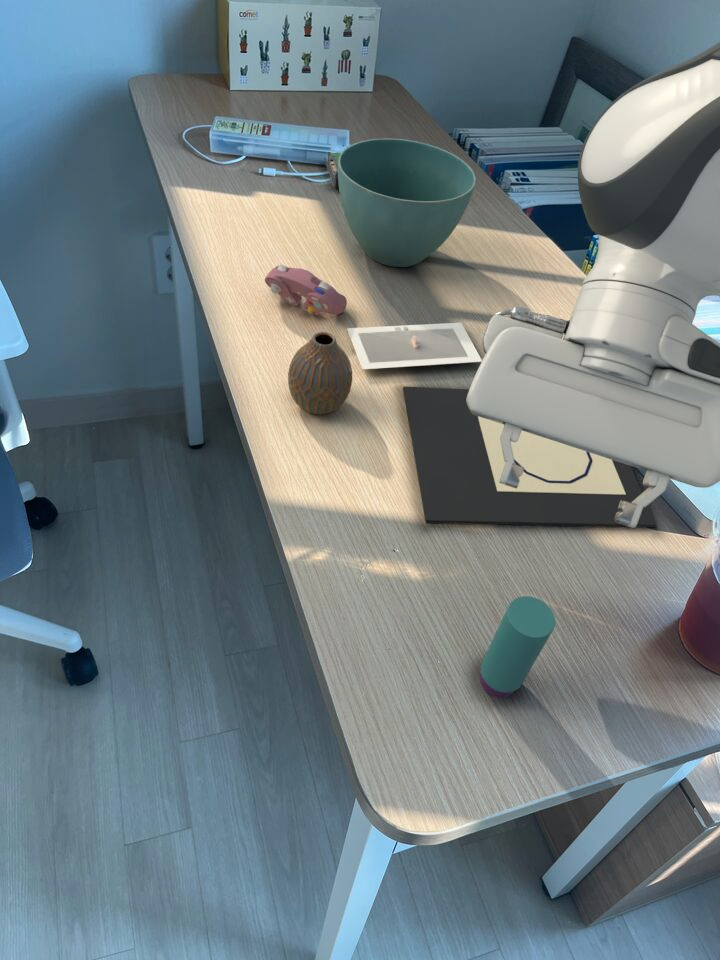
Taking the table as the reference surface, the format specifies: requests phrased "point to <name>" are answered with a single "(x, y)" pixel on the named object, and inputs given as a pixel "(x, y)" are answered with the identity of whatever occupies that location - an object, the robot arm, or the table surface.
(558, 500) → the desk mat
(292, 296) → the video game controller
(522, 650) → the cylinder
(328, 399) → the vase
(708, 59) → the robot arm
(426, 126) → the table surface
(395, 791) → the table surface
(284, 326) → the table surface
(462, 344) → the white framed picture
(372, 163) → the plant pot
